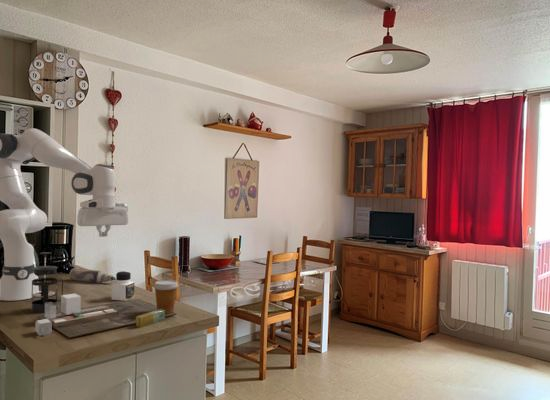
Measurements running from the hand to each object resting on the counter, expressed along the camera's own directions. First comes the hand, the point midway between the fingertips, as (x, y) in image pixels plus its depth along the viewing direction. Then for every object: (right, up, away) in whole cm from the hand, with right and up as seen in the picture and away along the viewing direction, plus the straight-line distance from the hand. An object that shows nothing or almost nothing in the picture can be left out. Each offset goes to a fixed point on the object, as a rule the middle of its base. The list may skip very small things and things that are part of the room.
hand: (103, 236), depth 172 cm
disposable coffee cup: (+27, -30, -5) cm, 41 cm away
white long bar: (-3, -28, -15) cm, 32 cm away
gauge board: (-2, -29, -16) cm, 33 cm away
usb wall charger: (-5, -30, -35) cm, 46 cm away
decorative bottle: (-24, -28, +44) cm, 57 cm away
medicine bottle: (+3, -29, +13) cm, 32 cm away
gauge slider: (-4, -27, -19) cm, 33 cm away
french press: (-20, -29, -7) cm, 36 cm away
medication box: (+26, -31, -20) cm, 45 cm away
